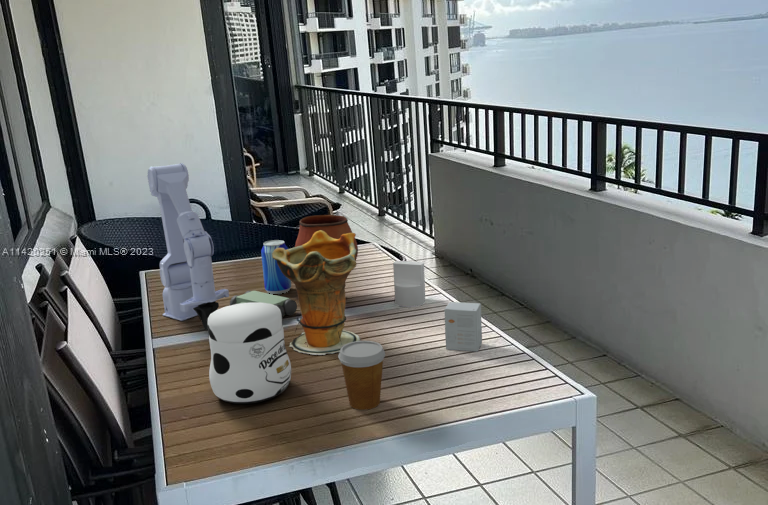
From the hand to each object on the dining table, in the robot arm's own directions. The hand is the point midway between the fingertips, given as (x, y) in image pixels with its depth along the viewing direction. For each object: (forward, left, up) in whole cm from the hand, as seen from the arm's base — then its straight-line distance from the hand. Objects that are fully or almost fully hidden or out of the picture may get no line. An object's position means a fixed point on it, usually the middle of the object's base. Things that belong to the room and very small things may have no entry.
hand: (208, 329), depth 184 cm
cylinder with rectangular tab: (+32, +48, -2) cm, 58 cm away
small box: (+63, +27, -2) cm, 69 cm away
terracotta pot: (+9, +38, -2) cm, 39 cm away
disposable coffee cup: (+61, -9, -2) cm, 62 cm away
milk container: (+37, -18, -2) cm, 41 cm away
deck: (0, +18, -1) cm, 18 cm away
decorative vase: (+31, +12, -2) cm, 33 cm away
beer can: (-11, +36, -2) cm, 38 cm away
